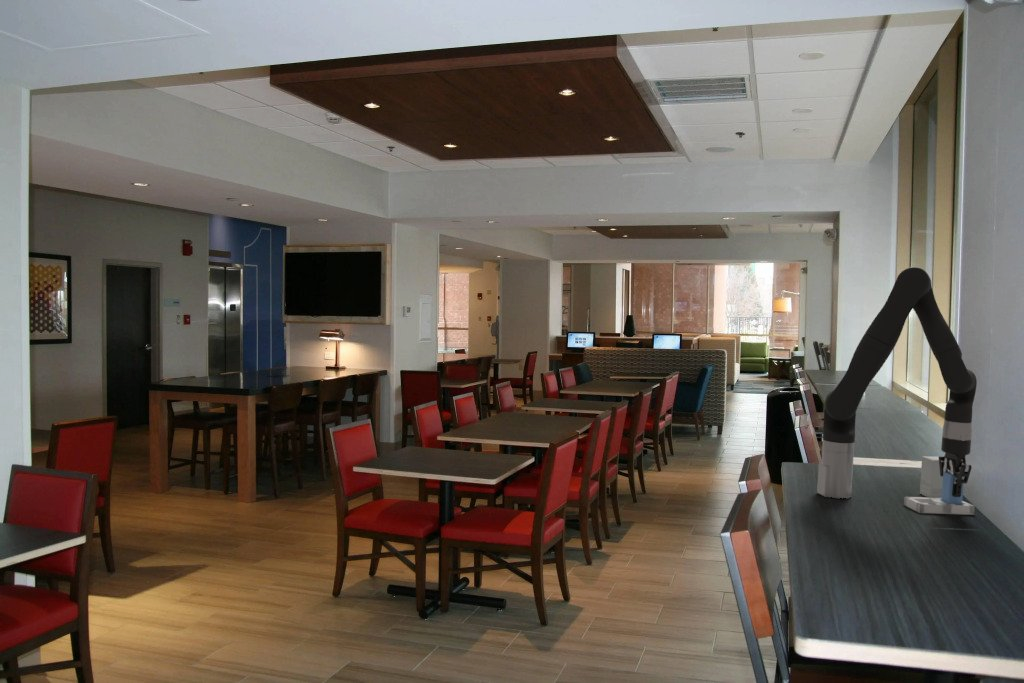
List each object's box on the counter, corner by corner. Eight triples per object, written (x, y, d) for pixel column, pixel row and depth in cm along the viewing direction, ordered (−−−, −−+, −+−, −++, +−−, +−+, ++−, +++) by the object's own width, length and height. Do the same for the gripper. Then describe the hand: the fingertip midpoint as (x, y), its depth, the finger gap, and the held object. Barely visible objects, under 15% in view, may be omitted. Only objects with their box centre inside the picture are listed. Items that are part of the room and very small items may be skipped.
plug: (948, 508, 245) (950, 471, 244) (940, 505, 249) (943, 468, 248) (961, 509, 245) (964, 471, 244) (954, 505, 249) (957, 468, 248)
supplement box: (953, 501, 261) (956, 461, 260) (929, 500, 261) (932, 460, 261) (942, 495, 269) (944, 456, 268) (918, 494, 269) (921, 455, 268)
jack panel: (919, 514, 242) (919, 503, 242) (903, 506, 251) (904, 496, 251) (973, 516, 242) (974, 505, 242) (956, 508, 251) (957, 497, 251)
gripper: (931, 432, 253) (927, 488, 254) (957, 440, 238) (952, 500, 239) (956, 433, 253) (951, 489, 254) (983, 441, 239) (978, 501, 239)
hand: (952, 494), depth 246 cm, fingers closed on plug, 4 cm apart
